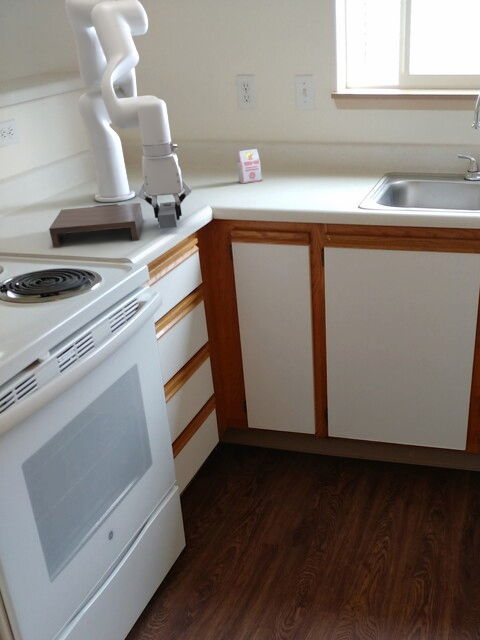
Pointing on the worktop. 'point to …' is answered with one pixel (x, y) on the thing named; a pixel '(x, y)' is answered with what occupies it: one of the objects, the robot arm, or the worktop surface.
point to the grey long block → (167, 215)
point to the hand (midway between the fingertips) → (168, 219)
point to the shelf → (97, 220)
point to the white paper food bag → (249, 166)
